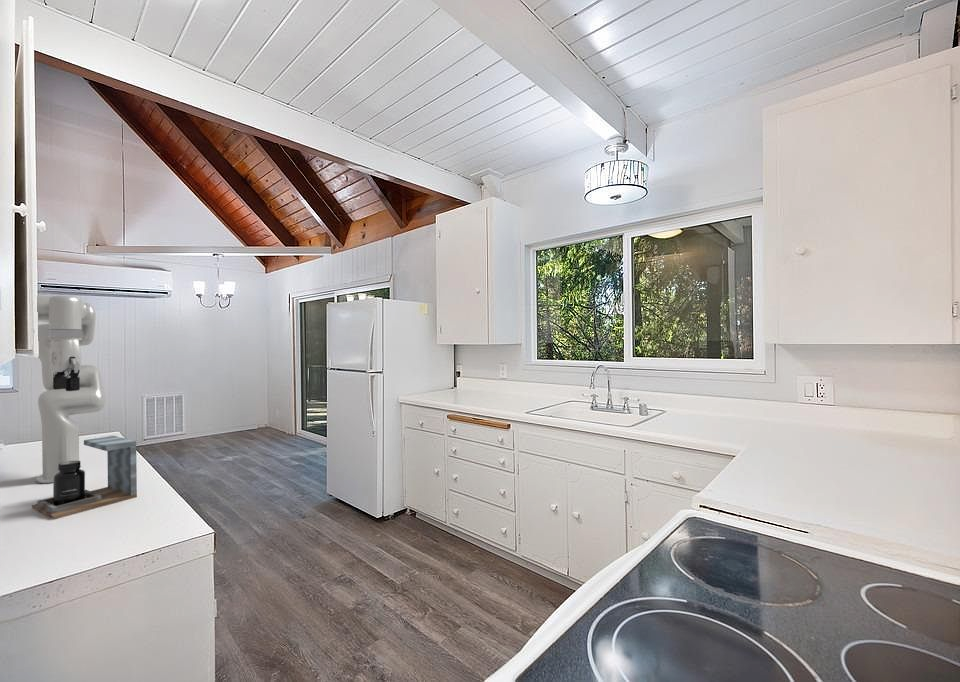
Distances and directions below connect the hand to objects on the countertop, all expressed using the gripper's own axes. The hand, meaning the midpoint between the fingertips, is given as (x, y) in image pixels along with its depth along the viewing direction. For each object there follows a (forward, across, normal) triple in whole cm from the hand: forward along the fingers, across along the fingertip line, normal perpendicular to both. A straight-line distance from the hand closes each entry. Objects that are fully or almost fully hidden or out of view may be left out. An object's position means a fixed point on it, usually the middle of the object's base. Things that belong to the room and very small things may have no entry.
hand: (66, 389), depth 139 cm
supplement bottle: (+32, +13, -4) cm, 35 cm away
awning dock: (+33, +13, 0) cm, 36 cm away
